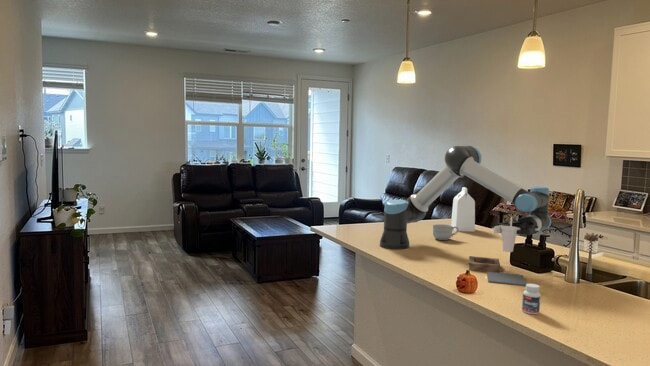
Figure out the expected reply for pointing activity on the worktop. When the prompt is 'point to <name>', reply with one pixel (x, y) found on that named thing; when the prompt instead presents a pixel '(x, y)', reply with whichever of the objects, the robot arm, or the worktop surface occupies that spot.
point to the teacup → (443, 231)
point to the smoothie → (508, 238)
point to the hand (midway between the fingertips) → (503, 231)
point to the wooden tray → (484, 264)
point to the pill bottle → (531, 299)
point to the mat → (506, 278)
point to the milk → (463, 212)
